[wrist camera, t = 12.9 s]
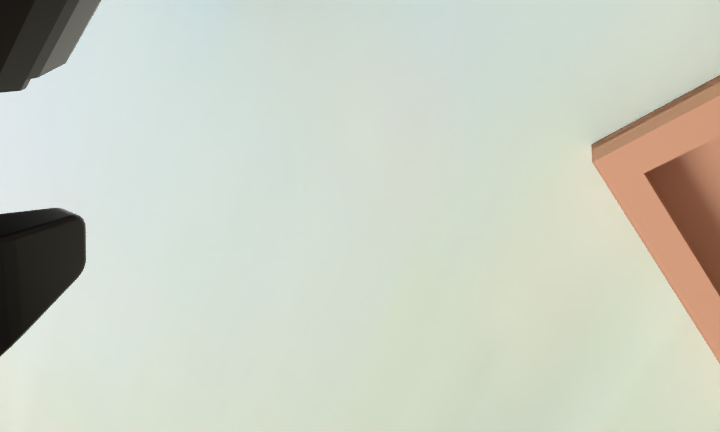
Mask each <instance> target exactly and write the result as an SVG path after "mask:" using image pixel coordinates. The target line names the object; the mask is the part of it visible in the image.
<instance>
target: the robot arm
mask: <svg viewBox="0 0 720 432" xmlns="http://www.w3.org/2000/svg"><path fill="white" fill-rule="evenodd" d="M100 2H101V0H0V92H10V91H21V90H23V89H25V88H26V87H27V85H28V83H29V81H30V79H32V78H37V77H40V76H42V75H44V74H45V73H47V72H49V71H51V70H53V69H55V68H57V67H59V66H61V65H63V64H65V63H66V61H67V60H68V58H69V56H70V55H71V53H72V51H73V50H74V48H75V46H76V44H77V43H78V41H79V39H80V37H81V36H82V34H83V32H84V30H85V28H86V27H87V25H88V23H89V21H90V19H91V18H92V16H93V14H94V12H95V11H96V9H97V7H98V5H99V3H100ZM85 263H86V229H85V222H84V220H83V218H81V217H80V216H79V215H77V214H74V213H72V212H69V211H67V210H64V209H61V208H49V209H41V210H32V211H23V212H14V213H5V214H0V356H1V355H3V354H4V353H5V352H6V351H7V350H8V349H9V348H10V347H11V346H12V345H13V344H14V343H15V342H16V341H17V340H18V339H19V338H20V337H21V336H22V335H23V334H24V333H25V332H26V331H27V330H28V329H29V328H30V327H31V326H32V325H33V324H34V323H35V322H36V321H37V320H38V319H39V318H40V317H41V316H42V314H43V313H44V312H45V311H46V310H47V309H48V308H49V307H50V306H51V305H52V304H53V303H54V302H55V301H56V300H57V299H58V298H59V297H60V296H61V295H62V294H63V293H64V291H65V290H66V289H67V288H68V287H69V286H70V285H71V284H72V283H73V282H74V281H75V280H76V279H77V278H78V277H79V275H80V274H81V272H82V271H83V269H84V266H85Z"/></svg>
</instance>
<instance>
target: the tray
mask: <svg viewBox="0 0 720 432" xmlns="http://www.w3.org/2000/svg"><path fill="white" fill-rule="evenodd" d="M592 162H593V164H594V166H595V167H596V169H597V170H598V172H599V173H600V175H601V177H602V178H603V180H604V181H605V183H606V184H607V186H608V188H609V189H610V191H611V192H612V194H613V196H614V197H615V199H616V200H617V202H618V203H619V205H620V207H621V208H622V210H623V211H624V213H625V215H626V216H627V218H628V219H629V221H630V222H631V224H632V226H633V227H634V229H635V230H636V232H637V234H638V235H639V237H640V238H641V240H642V241H643V243H644V245H645V246H646V248H647V249H648V251H649V253H650V254H651V256H652V257H653V259H654V260H655V262H656V264H657V265H658V267H659V268H660V270H661V271H662V273H663V275H664V276H665V278H666V279H667V281H668V283H669V284H670V286H671V287H672V289H673V290H674V292H675V294H676V295H677V297H678V298H679V300H680V302H681V303H682V305H683V306H684V308H685V309H686V311H687V313H688V314H689V316H690V317H691V319H692V321H693V322H694V324H695V325H696V327H697V328H698V330H699V332H700V333H701V335H702V336H703V338H704V340H705V341H706V343H707V344H708V346H709V347H710V349H711V351H712V352H713V354H714V355H715V357H716V358H717V360H718V362H719V363H720V76H718V77H716V78H714V79H712V80H711V81H709V82H707V83H705V84H703V85H701V86H699V87H698V88H696V89H694V90H692V91H690V92H688V93H686V94H685V95H683V96H681V97H679V98H677V99H675V100H673V101H672V102H670V103H668V104H666V105H664V106H662V107H661V108H659V109H657V110H655V111H653V112H651V113H649V114H648V115H646V116H644V117H642V118H640V119H638V120H636V121H635V122H633V123H631V124H629V125H627V126H625V127H623V128H622V129H620V130H618V131H616V132H614V133H612V134H610V135H609V136H607V137H605V138H603V139H601V140H599V141H597V142H596V143H594V144H592Z"/></svg>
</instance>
